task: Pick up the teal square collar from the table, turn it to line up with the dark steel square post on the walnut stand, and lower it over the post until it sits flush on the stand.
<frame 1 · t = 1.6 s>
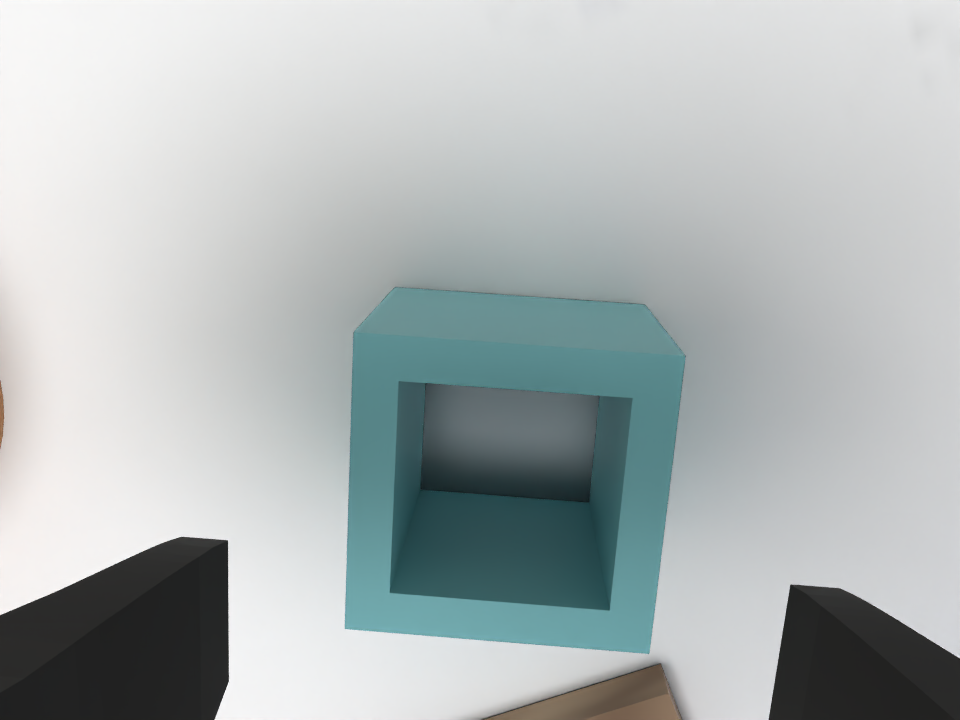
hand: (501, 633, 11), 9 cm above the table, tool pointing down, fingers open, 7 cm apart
teal collar: (510, 415, 20), on the table
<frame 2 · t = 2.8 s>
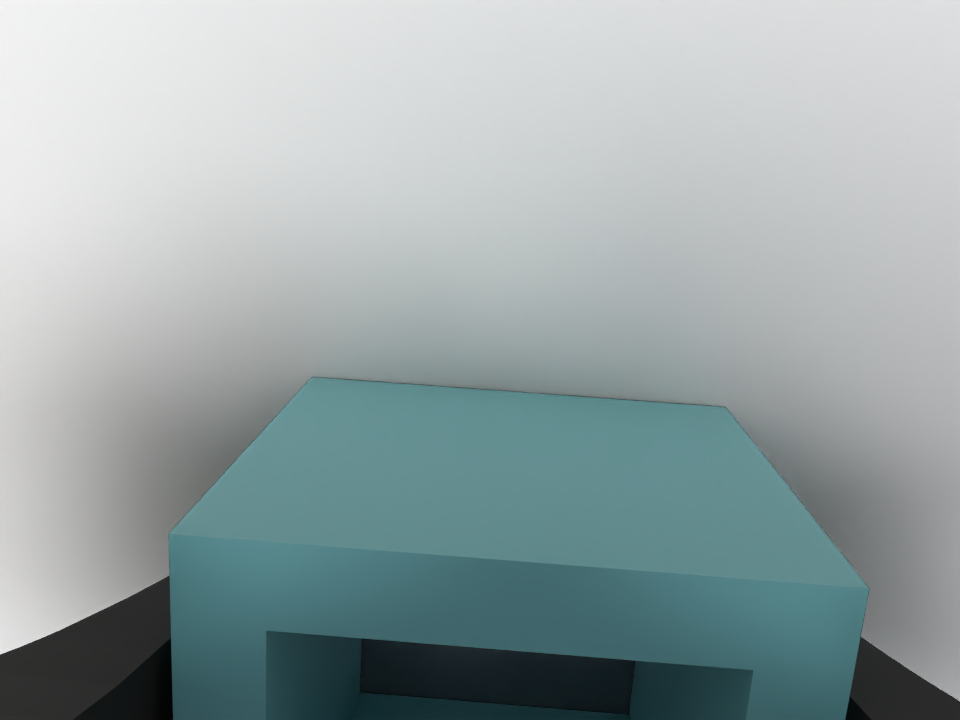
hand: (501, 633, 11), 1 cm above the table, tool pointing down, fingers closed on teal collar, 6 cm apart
teal collar: (503, 580, 13), on the table, touching gripper
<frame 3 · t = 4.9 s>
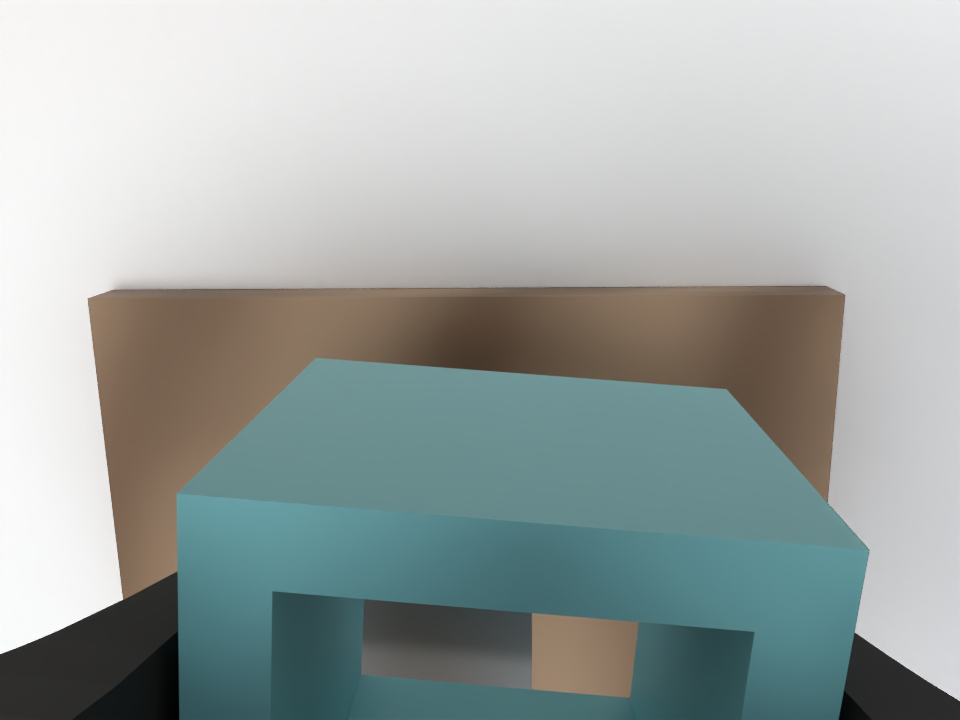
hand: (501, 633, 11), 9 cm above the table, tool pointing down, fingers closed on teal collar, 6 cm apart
teal collar: (504, 562, 13), point 8 cm above the table, touching gripper
post stand: (465, 496, 21), on the table
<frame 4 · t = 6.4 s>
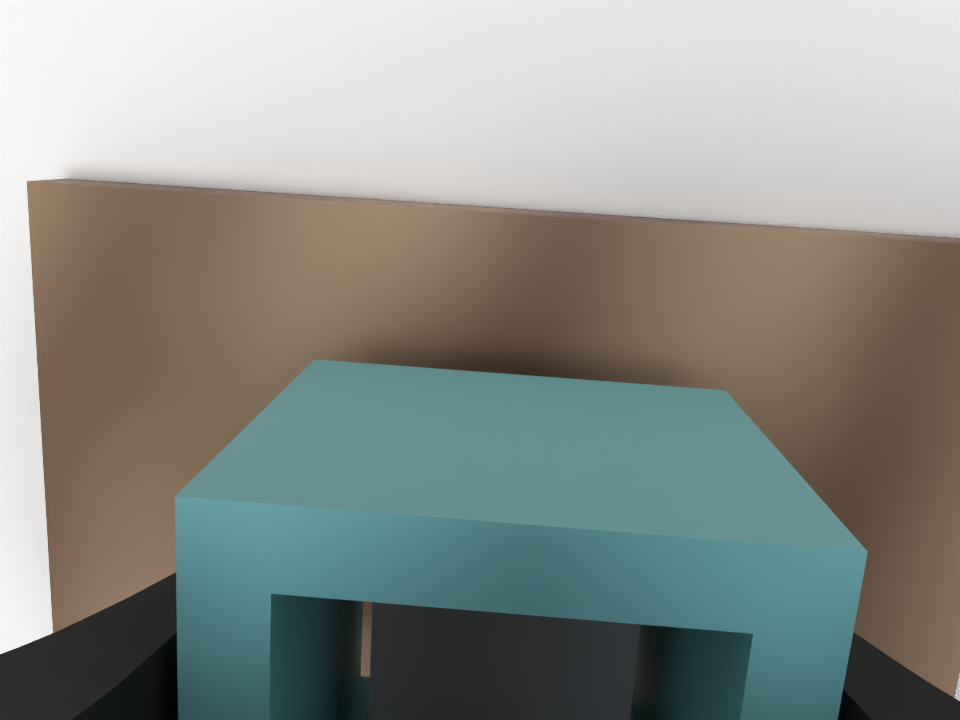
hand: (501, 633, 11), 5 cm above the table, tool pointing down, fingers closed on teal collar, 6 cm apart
teal collar: (503, 563, 13), point 4 cm above the table, touching gripper
post stand: (508, 486, 16), on the table
when the fingers open (4 cm above the table, at t = 7.2 s): teal collar drops 2 cm, resting on post stand.
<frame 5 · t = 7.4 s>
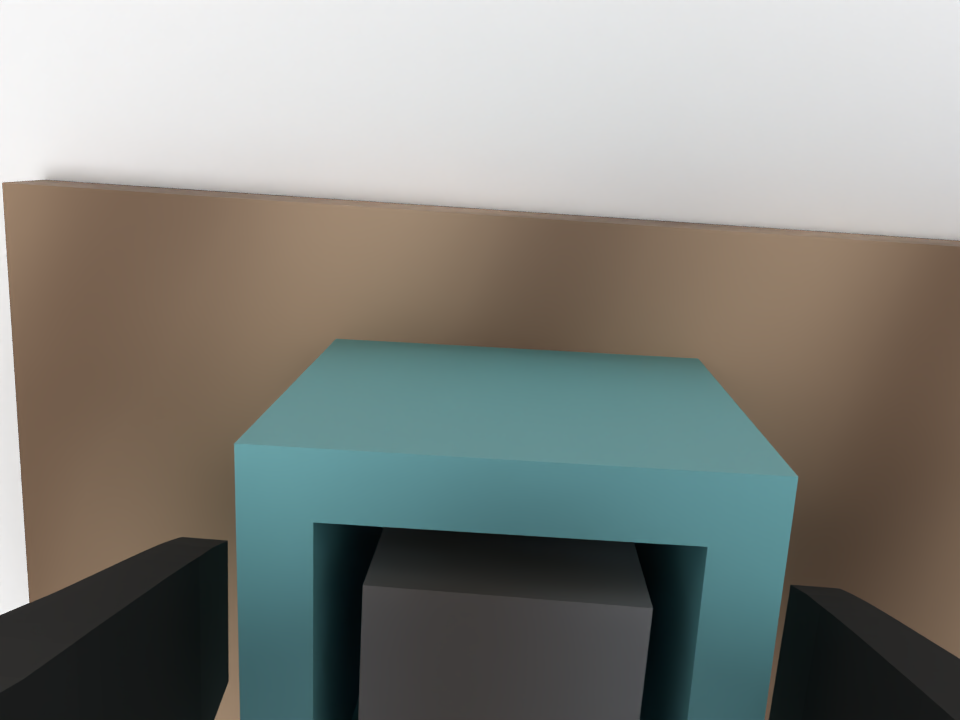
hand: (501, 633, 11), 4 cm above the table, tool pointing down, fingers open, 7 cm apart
teal collar: (506, 516, 14), point 1 cm above the table, touching post stand
post stand: (506, 499, 15), on the table
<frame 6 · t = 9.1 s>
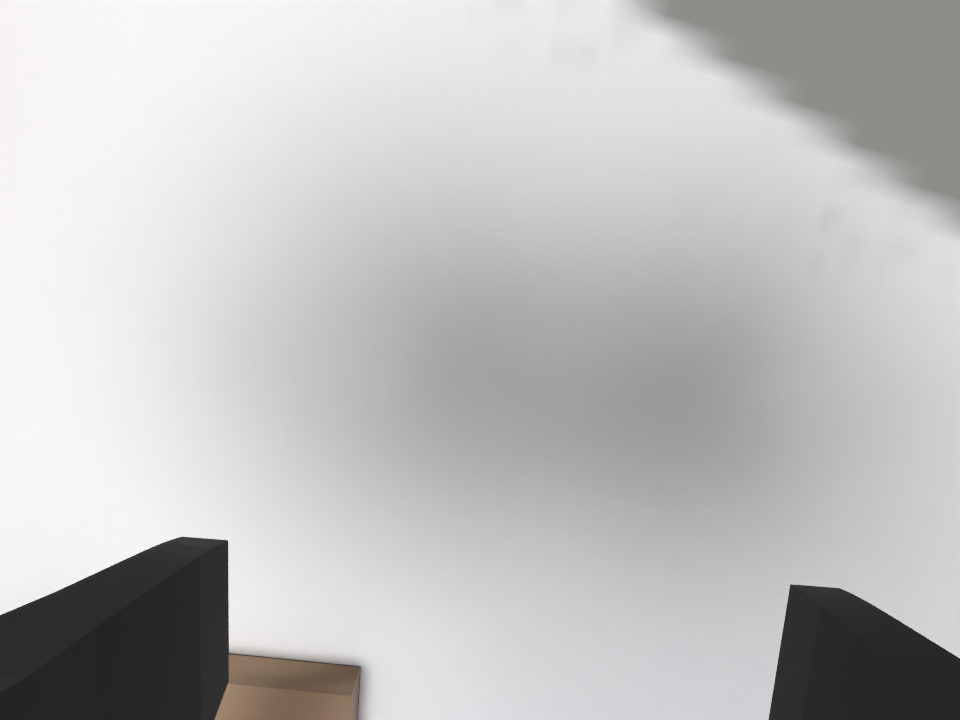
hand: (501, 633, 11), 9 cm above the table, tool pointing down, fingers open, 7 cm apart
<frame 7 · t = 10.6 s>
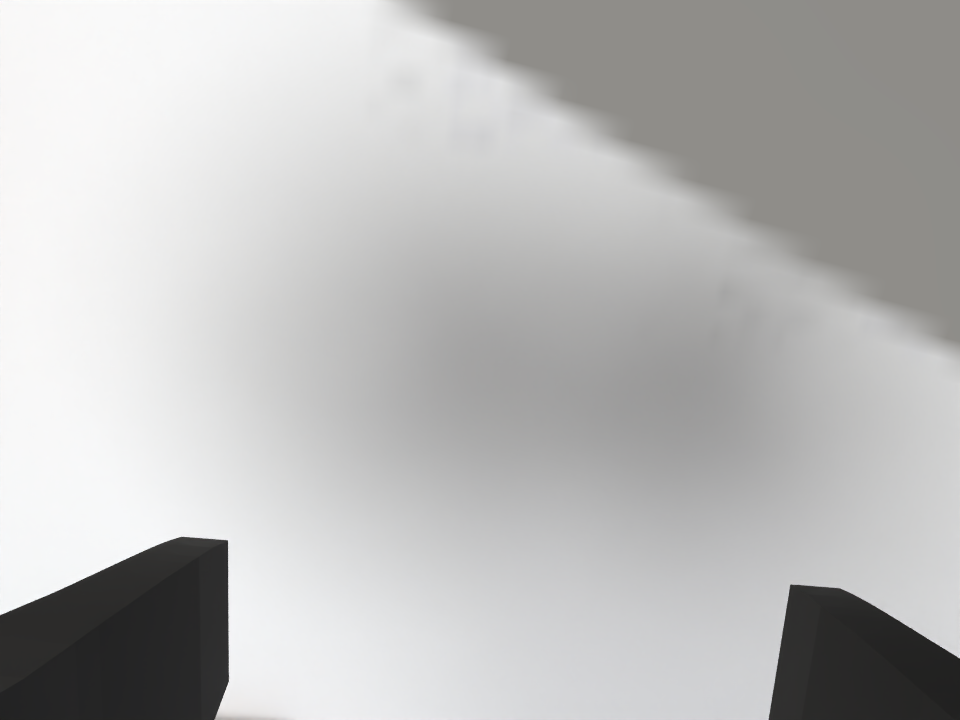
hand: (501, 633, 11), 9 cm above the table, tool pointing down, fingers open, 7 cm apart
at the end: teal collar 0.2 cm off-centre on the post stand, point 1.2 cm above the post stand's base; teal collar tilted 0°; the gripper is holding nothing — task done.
